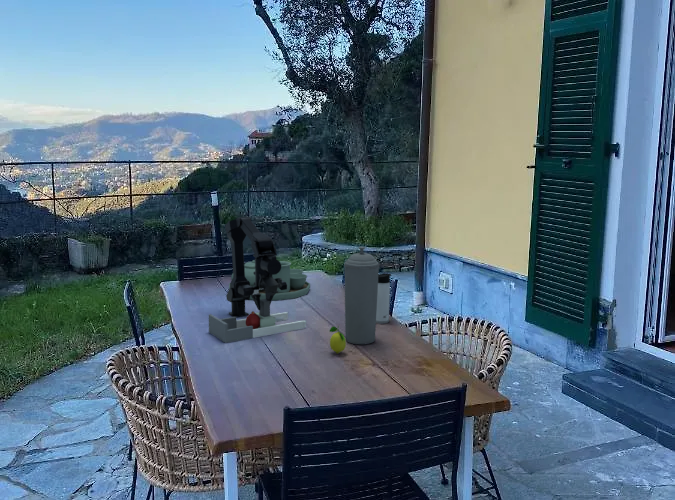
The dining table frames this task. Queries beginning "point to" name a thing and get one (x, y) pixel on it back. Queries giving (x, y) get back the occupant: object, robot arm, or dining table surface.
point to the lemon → (337, 341)
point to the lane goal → (248, 328)
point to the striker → (266, 314)
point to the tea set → (291, 276)
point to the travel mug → (383, 298)
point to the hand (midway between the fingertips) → (263, 309)
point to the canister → (361, 297)
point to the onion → (253, 320)
